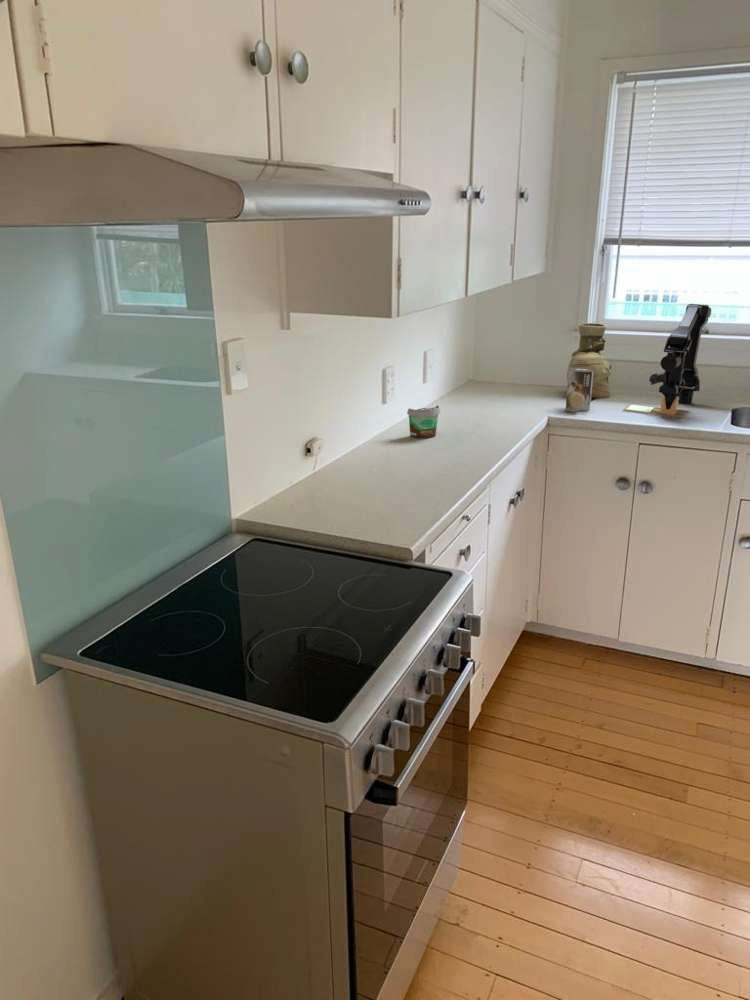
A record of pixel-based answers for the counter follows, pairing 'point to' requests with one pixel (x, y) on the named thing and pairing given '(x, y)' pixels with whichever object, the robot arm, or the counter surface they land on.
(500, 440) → the counter surface
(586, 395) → the coffee box
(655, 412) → the board
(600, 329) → the ceramic vessel
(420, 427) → the food container
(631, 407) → the pad
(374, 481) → the counter surface
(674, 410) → the box
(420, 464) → the counter surface
